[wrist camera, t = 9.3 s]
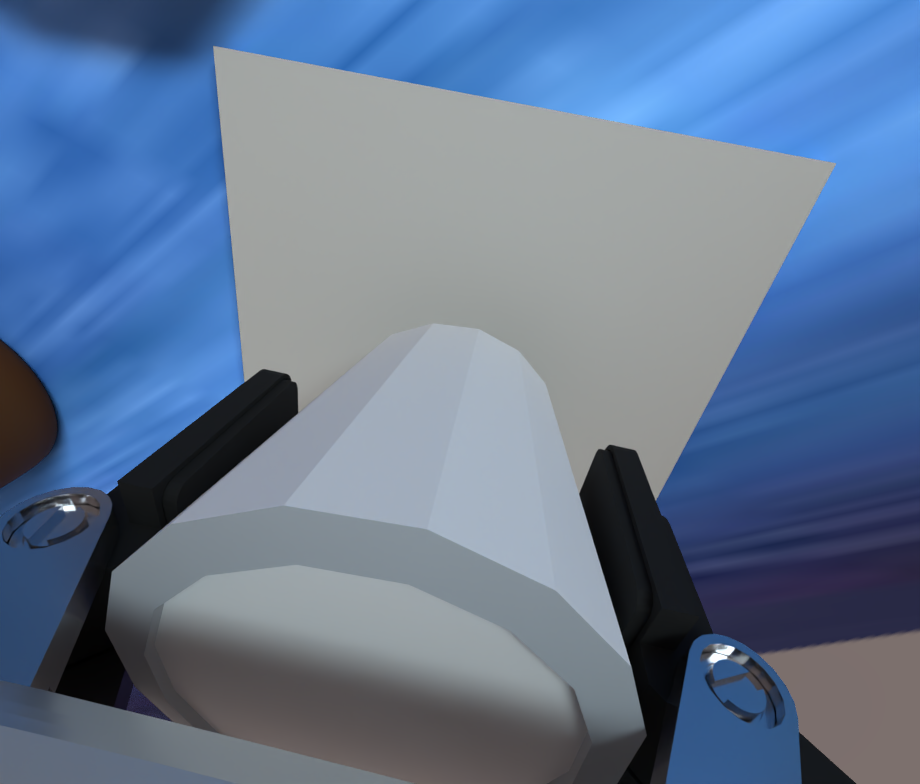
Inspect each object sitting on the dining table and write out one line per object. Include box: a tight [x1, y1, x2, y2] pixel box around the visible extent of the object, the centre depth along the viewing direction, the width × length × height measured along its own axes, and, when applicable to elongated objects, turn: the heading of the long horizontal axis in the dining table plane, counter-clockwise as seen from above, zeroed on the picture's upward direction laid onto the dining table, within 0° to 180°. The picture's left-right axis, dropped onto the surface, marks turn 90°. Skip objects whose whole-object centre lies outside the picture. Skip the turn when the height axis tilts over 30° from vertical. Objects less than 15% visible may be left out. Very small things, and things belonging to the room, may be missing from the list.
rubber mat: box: [213, 46, 836, 500], centre depth 14 cm, size 15×15×1 cm
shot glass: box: [105, 323, 647, 784], centre depth 8 cm, size 7×7×7 cm
